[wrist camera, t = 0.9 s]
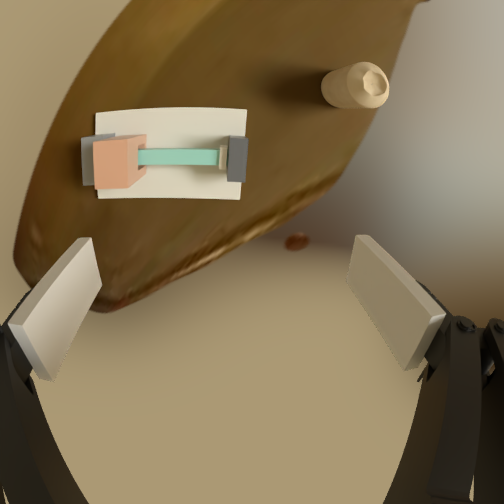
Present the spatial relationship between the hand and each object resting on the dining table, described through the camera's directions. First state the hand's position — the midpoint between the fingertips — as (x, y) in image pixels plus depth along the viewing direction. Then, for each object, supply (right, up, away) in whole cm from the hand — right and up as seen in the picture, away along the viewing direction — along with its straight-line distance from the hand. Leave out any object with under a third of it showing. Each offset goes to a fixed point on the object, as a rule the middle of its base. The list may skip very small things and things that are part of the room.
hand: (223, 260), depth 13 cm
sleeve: (-14, +13, +19) cm, 27 cm away
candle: (+13, +23, +19) cm, 32 cm away
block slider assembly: (-10, +13, +21) cm, 26 cm away
